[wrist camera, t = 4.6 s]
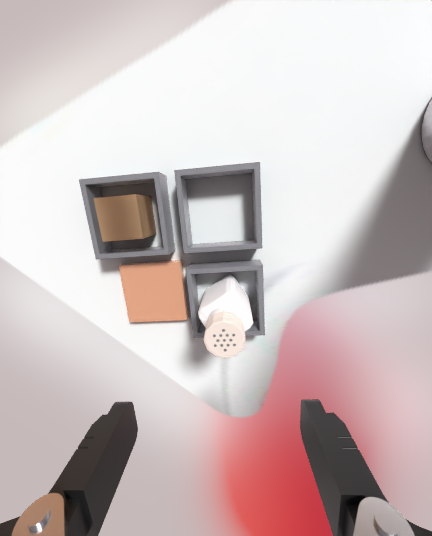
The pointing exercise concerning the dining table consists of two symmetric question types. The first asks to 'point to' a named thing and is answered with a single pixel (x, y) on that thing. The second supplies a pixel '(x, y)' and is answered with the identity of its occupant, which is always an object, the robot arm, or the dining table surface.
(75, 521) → the robot arm
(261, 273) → the shaker bin
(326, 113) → the dining table surface
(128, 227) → the walnut cube
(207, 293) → the salt shaker
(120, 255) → the bin with cube
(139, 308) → the terracotta pad
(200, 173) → the empty bin
